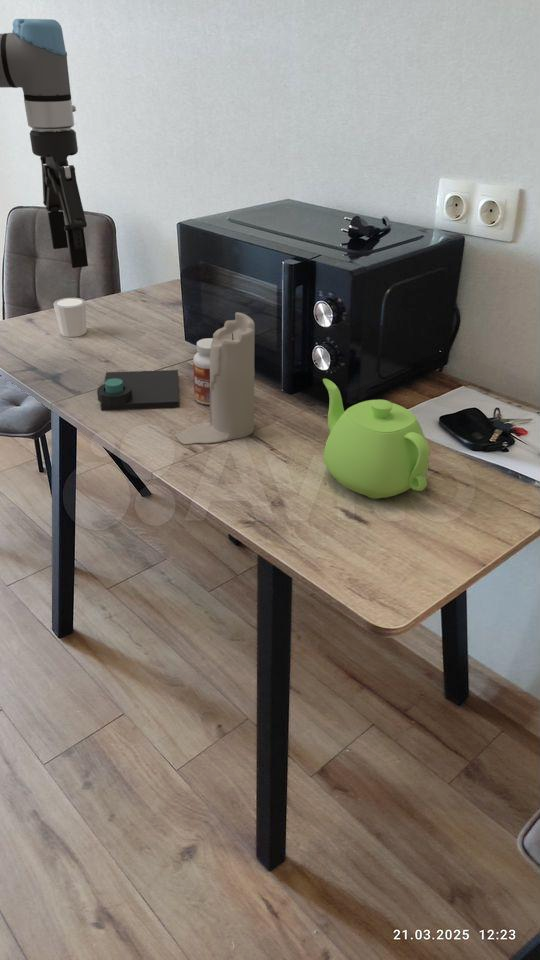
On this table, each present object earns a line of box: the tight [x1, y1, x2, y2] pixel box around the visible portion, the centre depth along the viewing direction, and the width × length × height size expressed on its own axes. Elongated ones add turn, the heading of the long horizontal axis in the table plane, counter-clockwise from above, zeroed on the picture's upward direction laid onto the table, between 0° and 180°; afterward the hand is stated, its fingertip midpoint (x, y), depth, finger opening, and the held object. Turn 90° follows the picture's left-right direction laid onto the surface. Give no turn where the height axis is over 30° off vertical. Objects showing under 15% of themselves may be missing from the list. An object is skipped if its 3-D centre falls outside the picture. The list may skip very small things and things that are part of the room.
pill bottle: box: [192, 337, 213, 406], centre depth 129 cm, size 6×6×11 cm
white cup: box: [52, 297, 87, 338], centre depth 156 cm, size 7×7×7 cm
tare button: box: [104, 378, 124, 394], centre depth 127 cm, size 3×3×2 cm
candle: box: [173, 311, 256, 445], centre depth 115 cm, size 7×14×20 cm, turn 115°
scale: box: [96, 369, 180, 411], centre depth 132 cm, size 14×14×3 cm
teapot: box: [322, 378, 431, 500], centre depth 107 cm, size 22×15×13 cm
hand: (70, 257), depth 129 cm, fingers open, 13 cm apart
